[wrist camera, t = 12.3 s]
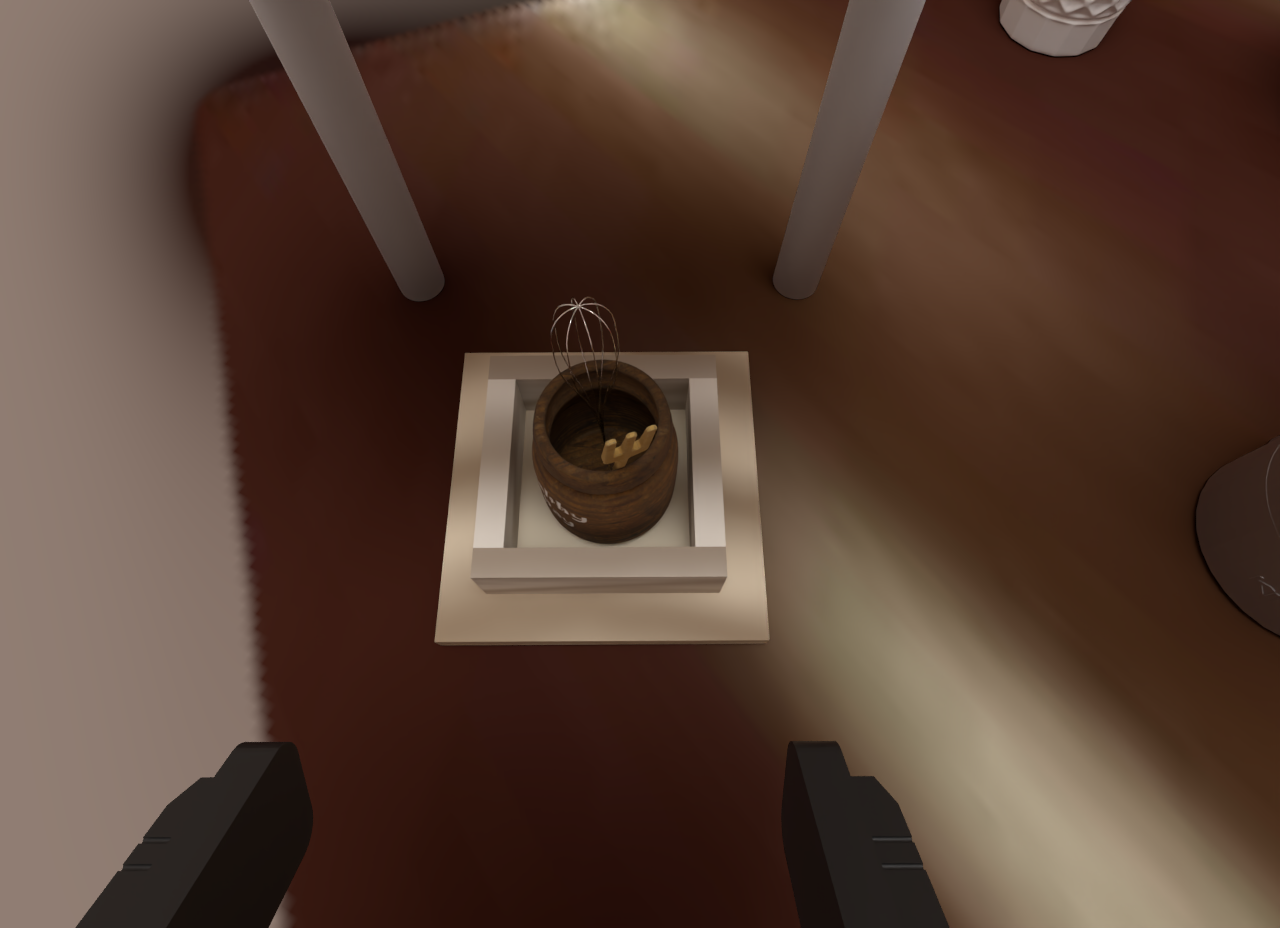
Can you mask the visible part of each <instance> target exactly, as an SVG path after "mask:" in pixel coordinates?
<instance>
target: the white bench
mask: <svg viewBox="0 0 1280 928" xmlns="http://www.w3.org/2000/svg"><path fill="white" fill-rule="evenodd" d="M249 1H250V3H251V5H252V7H253V9H254V11H255V13H256V15H257V17H258V19H259V20H260V22H261V24H262V26H263V28H264V30H265V32H266V34H267V36H268V37H269V40H270V41H271V43H272V45H273V47H274V49H275V51H276V53H277V55H278V57H279V59H280V61H281V63H282V65H283V66H284V68H285V70H286V72H287V74H288V76H289V78H290V80H291V82H292V84H293V86H294V87H295V89H296V91H297V93H298V95H299V97H300V99H301V101H302V103H303V105H304V107H305V109H306V110H307V112H308V114H309V116H310V118H311V120H312V122H313V124H314V126H315V128H316V130H317V132H318V133H319V135H320V137H321V139H322V141H323V143H324V145H325V147H326V149H327V151H328V153H329V155H330V156H331V158H332V160H333V162H334V164H335V166H336V168H337V170H338V172H339V174H340V176H341V178H342V179H343V181H344V183H345V185H346V187H347V189H348V191H349V193H350V195H351V197H352V199H353V200H354V202H355V204H356V206H357V208H358V210H359V212H360V214H361V216H362V218H363V220H364V222H365V223H366V225H367V227H368V229H369V231H370V233H371V235H372V237H373V239H374V241H375V243H376V245H377V246H378V248H379V250H380V252H381V254H382V256H383V258H384V260H385V262H386V264H387V266H388V268H389V269H390V271H391V273H392V275H393V277H394V279H395V281H396V283H397V285H398V287H399V289H400V290H401V292H402V294H403V295H404V296H405V297H406V298H408V299H410V300H413V301H426V300H429V299H432V298H434V297H435V296H437V295H438V294H439V293H440V292H441V290H442V289H443V286H444V283H445V279H444V275H443V273H442V270H441V268H440V265H439V263H438V261H437V258H436V256H435V253H434V251H433V249H432V246H431V244H430V241H429V239H428V237H427V234H426V232H425V229H424V227H423V224H422V222H421V220H420V217H419V215H418V212H417V210H416V208H415V205H414V203H413V200H412V198H411V196H410V193H409V191H408V188H407V186H406V184H405V181H404V179H403V176H402V174H401V171H400V169H399V167H398V164H397V162H396V159H395V157H394V155H393V152H392V150H391V147H390V145H389V143H388V140H387V138H386V135H385V133H384V130H383V128H382V126H381V123H380V121H379V118H378V116H377V114H376V111H375V109H374V106H373V104H372V102H371V99H370V97H369V94H368V92H367V90H366V87H365V85H364V82H363V80H362V77H361V75H360V73H359V70H358V68H357V65H356V63H355V61H354V58H353V56H352V53H351V51H350V49H349V46H348V44H347V42H346V39H345V37H344V34H343V32H342V29H341V27H340V25H339V22H338V20H337V17H336V15H335V12H334V10H333V8H332V5H331V3H330V1H329V0H249ZM924 3H925V0H850V1H849V5H848V8H847V12H846V15H845V19H844V23H843V26H842V30H841V33H840V37H839V41H838V44H837V48H836V51H835V55H834V59H833V62H832V66H831V69H830V73H829V77H828V80H827V84H826V88H825V91H824V95H823V98H822V102H821V106H820V109H819V113H818V116H817V120H816V124H815V127H814V131H813V134H812V138H811V142H810V145H809V149H808V152H807V156H806V160H805V163H804V167H803V170H802V174H801V178H800V181H799V185H798V188H797V192H796V196H795V199H794V203H793V206H792V210H791V214H790V217H789V221H788V225H787V228H786V232H785V235H784V239H783V243H782V246H781V250H780V253H779V257H778V261H777V264H776V268H775V271H774V275H773V284H774V286H775V288H776V290H777V291H778V292H779V293H780V294H782V295H783V296H785V297H787V298H790V299H804V298H807V297H809V296H811V295H812V294H813V293H814V292H815V290H816V288H817V286H818V283H819V281H820V278H821V275H822V273H823V270H824V267H825V265H826V262H827V260H828V257H829V254H830V252H831V249H832V246H833V244H834V241H835V238H836V236H837V233H838V230H839V228H840V225H841V223H842V220H843V217H844V215H845V212H846V209H847V207H848V204H849V201H850V199H851V196H852V193H853V191H854V188H855V186H856V183H857V180H858V178H859V175H860V172H861V170H862V167H863V164H864V162H865V159H866V156H867V154H868V151H869V149H870V146H871V143H872V141H873V138H874V135H875V133H876V130H877V127H878V125H879V122H880V119H881V117H882V114H883V111H884V109H885V106H886V104H887V101H888V98H889V96H890V93H891V90H892V88H893V85H894V82H895V80H896V77H897V74H898V72H899V69H900V67H901V64H902V61H903V59H904V56H905V53H906V51H907V48H908V45H909V43H910V40H911V37H912V35H913V32H914V30H915V27H916V24H917V22H918V19H919V16H920V14H921V11H922V8H923V6H924Z"/></svg>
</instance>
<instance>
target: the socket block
mask: <svg viewBox="0 0 1280 928" xmlns="http://www.w3.org/2000/svg"><path fill="white" fill-rule="evenodd" d="M562 354H563V356H564V358H565V360H566V362H567V364H568V366H569V363H568V358H567V352H562ZM583 354H584V358H585V362H586V361H591V360H594V357H593V352H583ZM616 354H618V352H616ZM554 355H555V359H556V363H557V366H558V368H559V370H560V372H562V371H564V370H566V369H567V368H568V366H567V364H566V363H565V361H564V359H563V357H562V355H561V352H557V353H554ZM594 355H595V360H600V359H602V352H594ZM568 356H569V361H570V366H574V365H576V364H579V363H582V362H584V359H583V355H582V352H568ZM603 359H606V360H616V356H615V352H603ZM618 361H621V362H624V363H627V364H630V365H633V366H635V367H637V368H639V369H640V370H642V371H643V372H645V373H646V374H648V375H649V376H650V377H651V378H652V379H653V380H654V381H655V382H656V383H657V384H658V386H659V387H660V388H661V390H662V392H663V393H664V395H665V397H666V400H667V402H668V405H669V408H670V412H671V415H672V422H673V424H674V427H675V430H676V434H677V440H678V466H677V475H676V482H675V487H674V492H673V495H672V499H671V501H670V504H669V506H668V508H667V510H666V511H665V513H664V515H663V516H662V518H661V519H660V520H659V521H658V522H657V523H656V524H655V525H654V526H653V527H652V528H651V529H650V530H648V531H647V532H646V533H644V534H643V535H641V536H639V537H637V538H635V539H632V540H629V541H626V542H622V543H616V544H600V543H594V542H590V541H587V540H584V539H582V538H579V537H577V536H575V535H574V534H572V533H571V532H569V531H568V530H567V529H565V528H564V527H563V526H562V525H561V524H560V523H559V522H558V521H557V519H556V518H555V517H554V515H553V514H552V512H551V511H550V509H549V507H548V505H547V503H546V501H545V499H544V496H543V494H542V491H541V488H540V486H539V483H538V480H537V477H536V474H535V470H534V466H533V460H532V441H533V418H534V411H535V407H536V404H537V401H538V399H539V397H540V395H541V393H542V392H543V390H544V389H545V387H546V386H547V385H548V384H549V382H550V381H551V380H552V379H553V378H555V377H556V376H557V375H558V374H560V373H559V371H558V369H557V367H556V364H555V361H554V357H553V353H465V360H464V369H463V379H462V388H461V397H460V407H459V416H458V426H457V435H456V445H455V454H454V464H453V473H452V482H451V492H450V501H449V511H448V520H447V530H446V539H445V548H444V558H443V567H442V577H441V586H440V596H439V605H438V614H437V624H436V633H435V642H436V643H437V644H439V645H599V644H766V643H767V642H768V641H769V640H770V639H769V625H768V612H767V599H766V585H765V572H764V559H763V545H762V532H761V519H760V505H759V492H758V479H757V465H756V452H755V439H754V425H753V412H752V399H751V385H750V372H749V359H748V352H619V356H618Z"/></svg>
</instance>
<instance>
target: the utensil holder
mask: <svg viewBox="0 0 1280 928" xmlns="http://www.w3.org/2000/svg"><path fill="white" fill-rule="evenodd" d="M587 298H592V299H593V300H594V301H595V299H594V298H593V297H590V296H588V297H586V298H584V299H583V300H582V301H581V302H580V303H579V305H578V303H577V301H576V300H575V298H574V297H572V298H571V304H563V305H560V306H558V307H557V308H556V309H555V311H554V313H553V327H552V329H551V333H550V341H551V347H552V352H553V357H554V361H555V364H556V367H557V369H558V371H559V373H560V374H558V375H557V376H556V377H555V378H553V379H552V380H551V381H550V382H549V384H548V385H547V386H546V387H545V389H544V390H543V392H542V393H541V395H540V397H539V399H538V401H537V404H536V407H535V411H534V418H533V441H532V460H533V466H534V470H535V474H536V477H537V480H538V483H539V486H540V488H541V491H542V494H543V496H544V499H545V501H546V503H547V505H548V507H549V509H550V511H551V512H552V514H553V515H554V517H555V518H556V519H557V521H558V522H559V523H560V524H561V525H562V526H563V527H564V528H565V529H567V530H568V531H569V532H571V533H572V534H574V535H575V536H577V537H579V538H582V539H584V540H587V541H590V542H594V543H600V544H616V543H622V542H626V541H629V540H632V539H635V538H637V537H639V536H641V535H643V534H644V533H646V532H647V531H648V530H650V529H651V528H652V527H653V526H654V525H655V524H656V523H657V522H658V521H659V520H660V519H661V518H662V516H663V515H664V513H665V511H666V510H667V508H668V506H669V504H670V501H671V499H672V495H673V492H674V487H675V482H676V475H677V466H678V440H677V434H676V430H675V427H674V424H673V422H672V415H671V412H670V408H669V405H668V402H667V400H666V397H665V395H664V393H663V392H662V390H661V388H660V387H659V386H658V384H657V383H656V382H655V381H654V380H653V379H652V378H651V377H650V376H649V375H648V374H646V373H645V372H643V371H642V370H640V369H639V368H637V367H635V366H633V365H630V364H627V363H624V362H621V361H618V356H619V339H618V333H617V328H616V323H615V319H614V316H613V314H612V313H611V311H610V310H609V309H607V308H606V307H604V306H602V305H600V304H597V302H596V301H595V303H596V304H595V303H588V304H582V305H580V304H581V303H582V302H583V301H584V300H585V299H587ZM572 299H574V301H575V302H576V304H577V305H573V302H572ZM566 305H570V306H572V308H571V309H569V310H567V311H565V312H564V313H563V314H561V315H560V316H559V317H558V319H557V320H556V321H555V323H554V314H555V312H556V310H557V309H558V308H559V307H561V306H566ZM584 305H596V306H597V310H598V315H596V314H595V313H593V312H592V311H590V310H588V309H586V308H584V307H581V306H584ZM573 306H576V307H573ZM598 306H601V307H603V308H605V309H606V310H608V311H609V312H610V314H611V315H612V317H613V320H614V324H615V329H616V335H617V342H618V354H616V348H615V343H614V339H613V335H612V333H611V331H610V329H609V328H608V326H607V325H606V323H605V322H604V321H603V320H602V319H601V318H600V314H599V309H598ZM574 308H576V309H575V311H574ZM580 308H582V309H585V310H587V311H589V312H591V313H592V314H594V315H595V316H597V317H598V318H599V321H600V326H601V334H602V359H600V360H595V355H594V350H593V346H592V342H591V339H590V335H589V332H588V329H587V326H586V323H585V320H584V317H583V315H582V312H581V310H580ZM577 309H579V311H580V313H581V316H582V318H583V321H584V324H585V327H586V330H587V333H588V337H589V340H590V344H591V348H592V352H593V357H594V360H591V361H586V362H585V358H584V354H583V350H582V346H581V342H580V338H579V334H578V329H577V324H576V319H575V312H576V310H577ZM570 310H573V315H572V318H571V320H570V323H569V327H568V332H567V339H566V351H567V358H568V363H569V366H568V364H567V362H566V360H565V358H564V356H563V354H562V352H561V349H560V346H559V342H558V338H557V334H556V329H555V324H556V322H557V321H558V320H559V318H560V317H561V316H562V315H564V314H565V313H567V312H568V311H570ZM573 317H574V321H575V326H576V330H577V335H578V339H579V343H580V347H581V351H582V355H583V359H584V362H582V363H579V364H576V365H574V366H570V361H569V356H568V334H569V329H570V325H571V322H572V319H573ZM601 321H602V322H603V323H604V324H605V326H606V327H607V329H608V330H609V332H610V334H611V337H612V340H613V345H614V350H615V356H616V360H606V359H603V332H602V325H601ZM553 328H554V330H555V335H556V340H557V344H558V347H559V350H560V352H561V355H562V357H563V359H564V361H565V363H566V364H567V366H568V368H567V369H566V370H564V371H562V372H560V370H559V368H558V366H557V363H556V359H555V355H554V350H553V345H552V338H551V337H552V331H553Z"/></svg>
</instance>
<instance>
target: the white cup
mask: <svg viewBox="0 0 1280 928" xmlns="http://www.w3.org/2000/svg"><path fill="white" fill-rule="evenodd" d="M1131 1H1132V0H1002V1H1001V4H1000V23H1001V25H1002V26H1003V27H1004V29H1005V30H1006V32H1007V33H1008V35H1009V36H1010V37H1011V38H1012V39H1013V40H1015V41H1016V42H1018V43H1019V44H1021V45H1023V46H1024V47H1026V48H1027V49H1029V50H1031V51H1035V52H1038V53H1042V54H1046V55H1050V56H1077V55H1080V54H1082V53H1084V52H1087V51H1089V50H1091V49H1093V48H1095V47H1097V46H1098V44H1099V43H1100V41H1101V40H1102V39H1103V37H1104V36H1105V34H1106V33H1107V31H1108V30H1109V29H1110V27H1111V26H1112V24H1113V23H1114V21H1115V20H1116V18H1117V17H1118V16H1119V15H1120V13H1121V12H1122V11H1123V10H1124V8H1125V7H1126V5H1128V4H1129V3H1130V2H1131Z"/></svg>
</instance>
